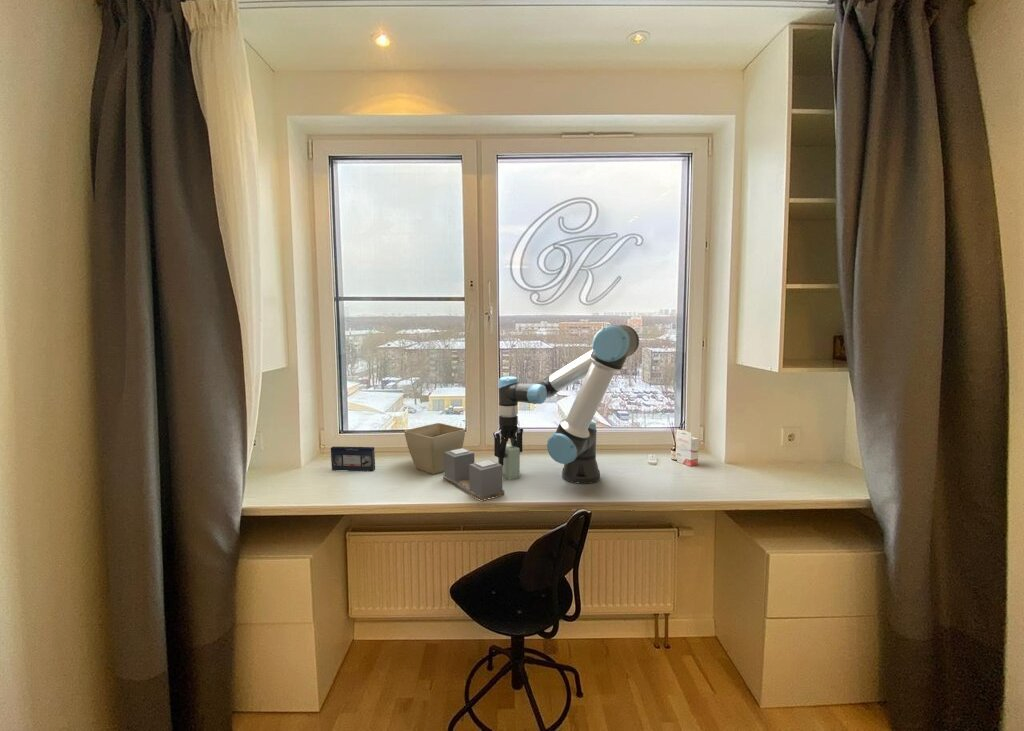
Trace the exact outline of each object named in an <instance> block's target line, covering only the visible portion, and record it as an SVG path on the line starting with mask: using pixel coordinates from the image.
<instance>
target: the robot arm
mask: <svg viewBox="0 0 1024 731" xmlns="http://www.w3.org/2000/svg"><path fill="white" fill-rule="evenodd" d="M639 346H640V336H639V334H638V332H637V330H635V328H633V327H632V326H629V325H625V324H622V325H621V324H620V325H613V324H612V325H608V326H605V327H603V328H601V329H599V330H598V331H597V332H596V333H595V334H594V336H593V339H592V346H591V347H592V349H591V350H589V351H587V352H586V353H584V354H583V355H580V356H579V357H578V358H576V359H575V360H573V361H571V362H569V363H568V364H566V365H565V366H563V367H561V368H559V369H558V370H556V371H554V372H552V374H549V375H548V376H546V377H545V378H543V379H541V380H537V381H534V382H531V383H527V382H526V383H525V382H519V379H518V378H517V377H516V376H511V375H510V376H509V375H506V376H502V377H500V378H499V379H498V388H497V389H498V401H499V402H498V415H499V416H498V423H499V429H498V431H496V432H495V431H494V432H493V433H492V434H493V437H494V438H493V439H494V440H493V442H494V447H493V449H494V457H496V458H498V457H499V464H501V465H502V473H503V474H506V458H505V457H504V455H505V449H506V444H508V442H509V441H510V443H511V444H510V445H512V446H515V447H518V448H520V453H523V434H524V428H521V427H518V424H519V416H518V414H519V407H518V406H519V405H518V404H519V403H524V404H526V403H527V404H533V405H538V404H539V405H540V404H541V405H542V404H544V403H545V401H546V400H547V399H549V398H552V397H553V396H555V395H556V394H557V393H558V392H561V391H563V390H564V389H566V388H568V387H569V386H571V385H573V384H574V383H576V382H578V381H579V380H581V379H583V378H584V379H583V381H582V384H581V386H580V387H579V390H578V392H577V395H576V396H575V398H574V401H573V403H572V405H571V407H570V410H569V412H568V414H567V416H566V418H565V419H562V420H560V422H559V425H558V426H557V428H556V431H555V432H554V433H552V434H551V435H550V436H549V438H548V439H547V443H546V449H547V450H546V451H547V452H548V455H549V457H551V459H552V460H553V461H554V462H556V463H558V464H562V465H563V468H562V470H561V477H562V479H563V480H565V481H567V480H568V482H570V481H572V482H571V483H574V482H579V483H578V484H592V483H591V482H593V483H596V482H598V481H599V480H601V471H600V469H599V464H598V462H597V432H598V431H597V424H596V422H595V421H593V419H594V416H595V415H596V413H597V410H598V408H599V406H600V404H601V402H602V400H603V398H604V395H605V394H606V392H607V390H608V387H609V385H610V384H611V381H612V379H613V377H614V374H615V373H616V372H619V371H621V370H622V368H623V367H624V364H625V362H626V360H627V358H628V357H630V356H632V355H634V354H635V352H637V351H638V349H639ZM518 402H519V403H518Z"/></svg>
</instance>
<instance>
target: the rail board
mask: <svg viewBox="0 0 1024 731" xmlns="http://www.w3.org/2000/svg"><path fill="white" fill-rule="evenodd" d="M442 476H443V477H442V479H443V480H444V481H446V482H447V483H449V484H451V485H453V486H454V487H456V488H458V489H460V490H461V491H463V492H464V493H466V494H468V495H469V494H470V496H471V495H472V496H471V497H473V496H474V498H475V497H476V498H478V499H480V500H484V499H488V498H492V497H495V498H497V497H496V496H498V497H501V496H500V495H502V496H504V494H505V492H506V491H505V489H503V490H502V491H501V493H497V494H494V495H490V496H487V497H484V496H480V495H479V494H477V493H475V492H473V491H472V490H470V479H466V480H462V481H458V482H457V481H454V480H452V479H451V478H449V477H447V476H445V474H443V475H442ZM476 498H475V499H476ZM478 499H477V500H478ZM492 499H493V498H492ZM480 500H479V501H480ZM488 500H489V499H488Z"/></svg>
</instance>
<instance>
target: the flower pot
mask: <svg viewBox="0 0 1024 731" xmlns="http://www.w3.org/2000/svg"><path fill="white" fill-rule="evenodd" d="M403 432H404V437H405V441H406V444H407V449H408V452H409V454H410V457H411V459H412V461H413V464H414V466H415V468H416V469H418V470H421V471H424V472H426V473H428V474H432V475H435V474H440V473H442V472H445V462H444V452H448V451H451V450H456V449H461V448H463V447H464V442H465V436H466V428H464V427H459V426H454V425H450V424H446V423H441V422H436V423H432V424H426V425H422V426H417V427H414V428H409V429H404V431H403Z"/></svg>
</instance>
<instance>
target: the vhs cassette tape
mask: <svg viewBox="0 0 1024 731" xmlns="http://www.w3.org/2000/svg"><path fill="white" fill-rule="evenodd" d="M375 453H376V452H375V446H331V447H330V459H331V460H330V462H331V471H336V470H348V471H347V472H374V471H375V470H376V458H375V457H376V456H375Z"/></svg>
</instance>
